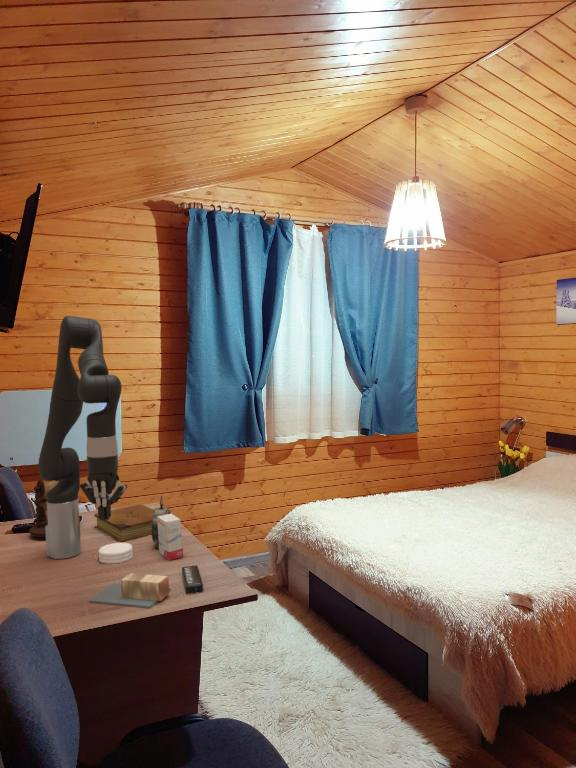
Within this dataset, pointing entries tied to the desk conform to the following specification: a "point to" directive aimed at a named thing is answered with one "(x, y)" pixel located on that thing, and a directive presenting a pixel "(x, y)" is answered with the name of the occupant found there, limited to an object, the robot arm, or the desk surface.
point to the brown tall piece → (41, 508)
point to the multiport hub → (192, 579)
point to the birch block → (145, 586)
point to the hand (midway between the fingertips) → (104, 519)
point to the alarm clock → (157, 512)
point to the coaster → (115, 553)
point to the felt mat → (120, 598)
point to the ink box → (170, 536)
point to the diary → (128, 523)
